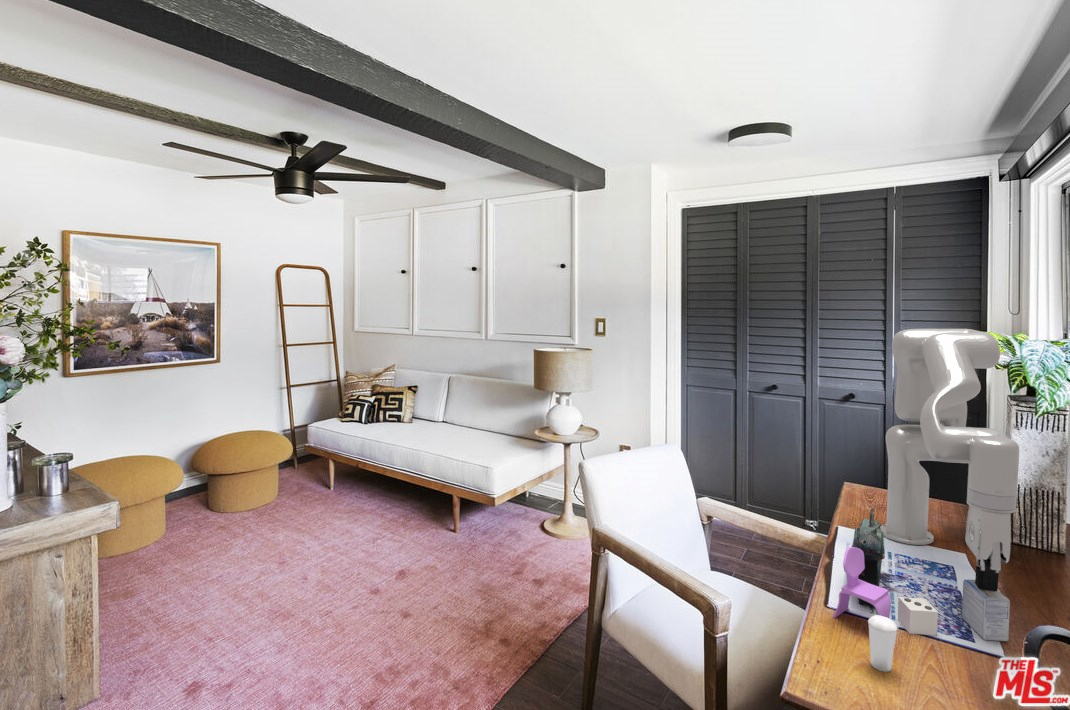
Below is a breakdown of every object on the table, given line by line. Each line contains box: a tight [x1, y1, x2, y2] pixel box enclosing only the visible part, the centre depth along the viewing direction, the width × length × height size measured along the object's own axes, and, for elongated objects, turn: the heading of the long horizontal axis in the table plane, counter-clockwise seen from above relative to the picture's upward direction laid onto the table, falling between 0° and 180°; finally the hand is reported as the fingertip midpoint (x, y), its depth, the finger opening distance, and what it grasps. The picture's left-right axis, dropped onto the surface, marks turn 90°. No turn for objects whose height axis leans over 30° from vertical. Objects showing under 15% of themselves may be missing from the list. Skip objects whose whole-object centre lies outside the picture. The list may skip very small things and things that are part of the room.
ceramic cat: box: [851, 507, 886, 609], centre depth 128 cm, size 20×6×20 cm, turn 148°
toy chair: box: [832, 546, 892, 619], centre depth 115 cm, size 8×9×15 cm
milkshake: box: [867, 614, 903, 673], centre depth 101 cm, size 5×5×10 cm
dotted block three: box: [897, 596, 939, 636], centre depth 113 cm, size 5×5×5 cm
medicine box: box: [961, 579, 1011, 642], centre depth 112 cm, size 8×4×9 cm, turn 168°
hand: (986, 588), depth 111 cm, fingers closed
